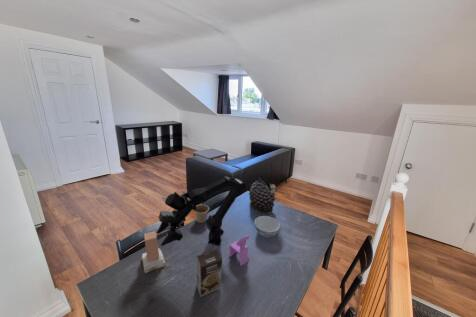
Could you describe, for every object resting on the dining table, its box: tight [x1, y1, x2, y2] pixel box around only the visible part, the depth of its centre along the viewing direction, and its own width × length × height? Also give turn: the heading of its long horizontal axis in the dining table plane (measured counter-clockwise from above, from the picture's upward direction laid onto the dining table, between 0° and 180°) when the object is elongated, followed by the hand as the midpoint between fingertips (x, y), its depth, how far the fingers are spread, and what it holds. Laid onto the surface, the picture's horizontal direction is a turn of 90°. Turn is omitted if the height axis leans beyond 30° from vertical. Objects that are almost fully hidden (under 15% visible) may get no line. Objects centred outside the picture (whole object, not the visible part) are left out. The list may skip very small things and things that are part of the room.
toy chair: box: [228, 234, 250, 267], centre depth 102 cm, size 8×9×15 cm
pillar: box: [144, 230, 159, 262], centre depth 94 cm, size 5×5×12 cm
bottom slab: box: [141, 249, 166, 274], centre depth 98 cm, size 9×9×2 cm
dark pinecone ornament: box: [248, 176, 276, 216], centre depth 144 cm, size 21×15×25 cm
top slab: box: [141, 247, 164, 270], centre depth 96 cm, size 8×8×2 cm
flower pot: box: [194, 204, 210, 224], centre depth 130 cm, size 9×9×9 cm
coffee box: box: [196, 249, 223, 298], centre depth 85 cm, size 9×6×16 cm
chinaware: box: [254, 215, 281, 239], centre depth 121 cm, size 15×15×8 cm
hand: (159, 239), depth 96 cm, fingers open, 9 cm apart
